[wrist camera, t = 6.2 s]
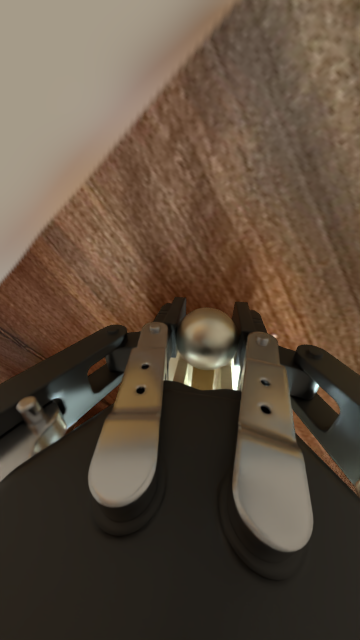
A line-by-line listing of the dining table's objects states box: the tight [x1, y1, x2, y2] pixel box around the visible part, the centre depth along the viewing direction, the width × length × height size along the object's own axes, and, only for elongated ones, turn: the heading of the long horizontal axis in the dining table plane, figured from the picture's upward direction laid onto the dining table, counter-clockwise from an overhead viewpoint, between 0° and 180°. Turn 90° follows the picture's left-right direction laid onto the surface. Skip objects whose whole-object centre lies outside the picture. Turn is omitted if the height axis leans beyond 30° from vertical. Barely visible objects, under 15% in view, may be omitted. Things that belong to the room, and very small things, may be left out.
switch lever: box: [176, 308, 239, 390], centre depth 10 cm, size 13×3×3 cm, turn 0°
